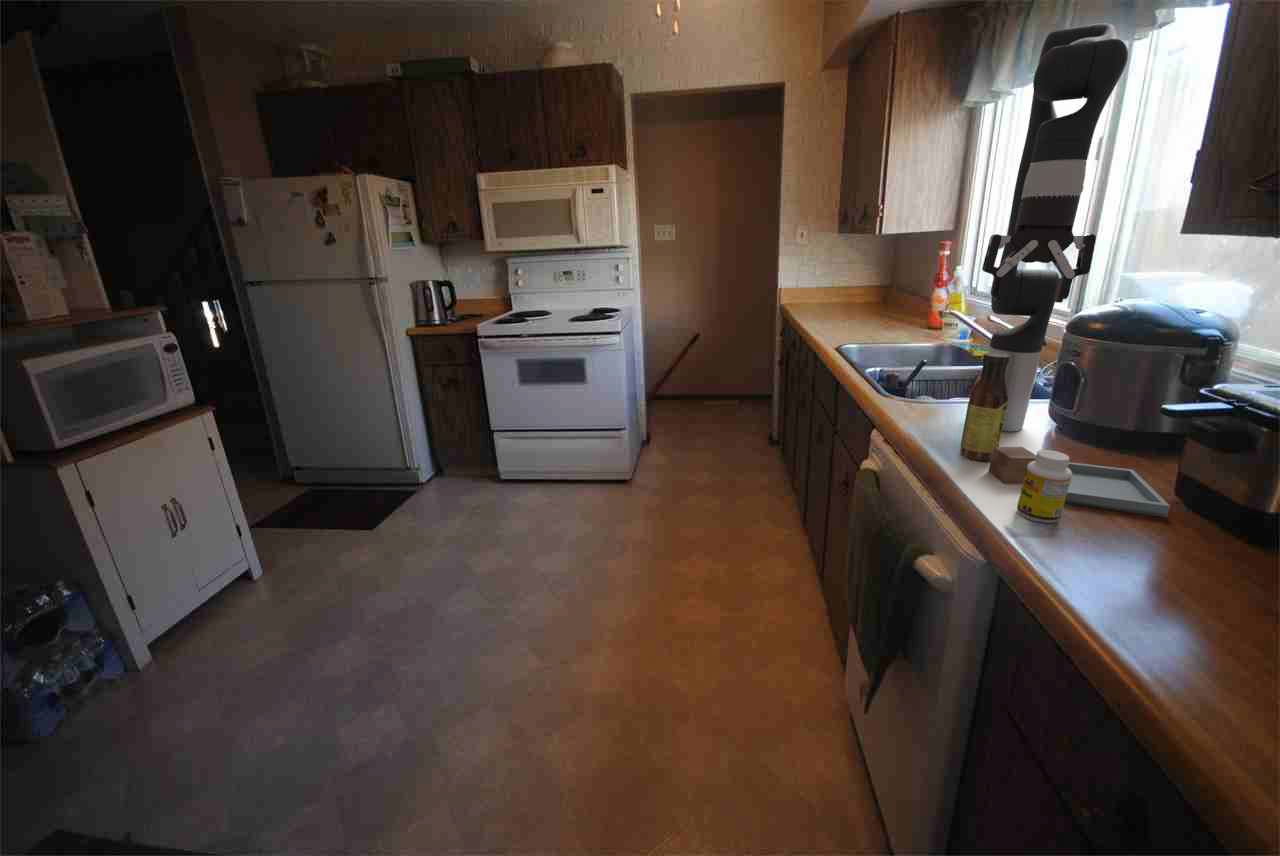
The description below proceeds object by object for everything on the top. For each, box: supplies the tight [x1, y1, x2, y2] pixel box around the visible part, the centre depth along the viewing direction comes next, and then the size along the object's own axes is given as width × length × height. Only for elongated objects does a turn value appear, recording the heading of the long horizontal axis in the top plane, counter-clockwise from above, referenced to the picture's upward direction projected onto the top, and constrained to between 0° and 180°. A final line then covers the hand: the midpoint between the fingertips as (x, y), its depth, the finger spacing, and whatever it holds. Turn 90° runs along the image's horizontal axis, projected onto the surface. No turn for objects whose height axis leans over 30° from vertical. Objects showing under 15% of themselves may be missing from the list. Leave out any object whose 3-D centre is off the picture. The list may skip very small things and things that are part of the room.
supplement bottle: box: [1016, 449, 1072, 524], centre depth 84 cm, size 6×6×10 cm
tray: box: [1064, 461, 1171, 519], centre depth 93 cm, size 14×14×2 cm
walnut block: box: [987, 446, 1037, 485], centre depth 98 cm, size 5×5×5 cm
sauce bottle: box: [960, 352, 1009, 462], centre depth 104 cm, size 6×6×20 cm
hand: (1026, 301), depth 92 cm, fingers open, 8 cm apart
